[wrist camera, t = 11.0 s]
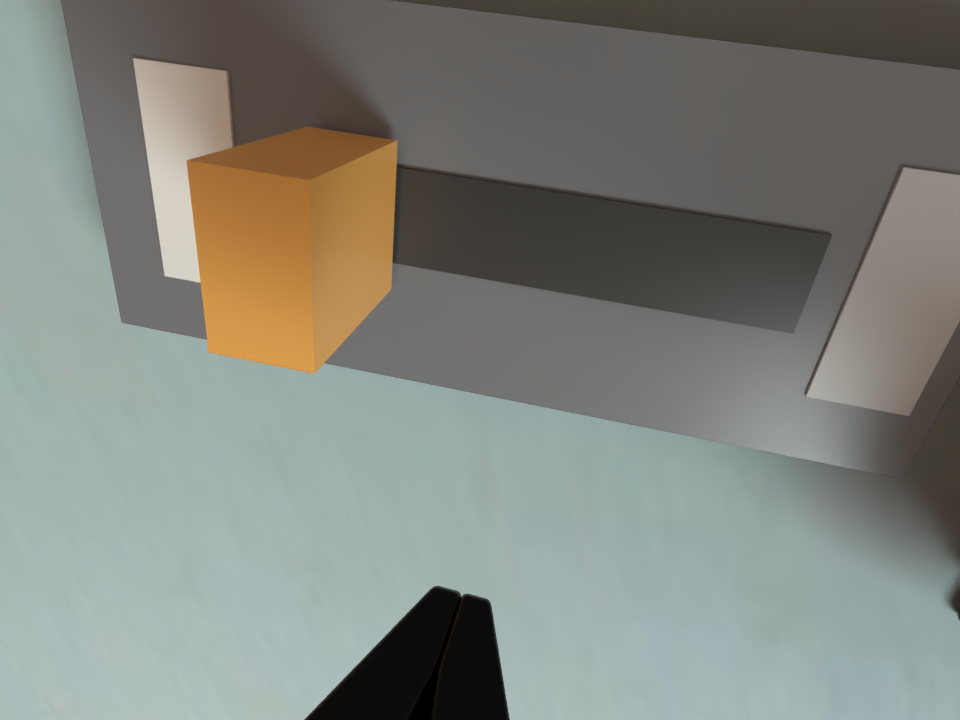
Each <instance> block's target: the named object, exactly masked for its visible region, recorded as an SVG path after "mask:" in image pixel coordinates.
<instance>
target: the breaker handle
mask: <svg viewBox="0 0 960 720" xmlns="http://www.w3.org/2000/svg"><path fill="white" fill-rule="evenodd" d="M397 144H398V140H393V139H386V138H379V137H373V136H366V135H359V134H353V133H346V132H340V131H333V130H326V129H320V128H313V127H304V128H300V129H296V130H293V131H289V132H286V133H282V134H279V135H275V136H271V137H268V138H264V139H261V140H257V141H253V142H250V143H246V144H243V145H239V146H236V147H232V148H228V149H225V150H221V151H218V152H214V153H211V154H207V155H203V156H200V157H196V158H193V159H189V160H186V162H187V170H188V179H189V187H190V196H191V205H192V213H193V222H194V230H195V239H196V248H197V256H198V265H199V273H200V282H201V291H202V299H203V308H204V316H205V325H206V334H207V342H208V351H209V352H210V353H215V354H220V355H225V356H229V357H234V358H239V359H244V360H249V361H254V362H259V363H264V364H269V365H274V366H279V367H284V368H289V369H294V370H299V371H303V372H308V373H313V374H315V372H316V371H317V370H318V369H319V368H320V367H321V366H322V365H323V364H324V363H325V361H326V360H327V359H328V358H329V357H330V356H331V355H332V354H333V353H334V352H335V351H336V349H337V348H338V347H339V346H340V345H341V344H342V343H343V342H344V341H345V340H346V338H347V337H348V336H349V335H350V334H351V333H352V332H353V331H354V330H355V329H356V327H357V326H358V325H359V324H360V323H361V322H362V321H363V320H364V319H365V318H366V317H367V315H368V314H369V313H370V312H371V311H372V310H373V309H374V308H375V307H376V306H377V304H378V303H379V302H380V301H381V300H382V299H383V298H384V297H385V296H386V295H387V293H388V292H389V291H390V290H391V284H392V261H393V237H394V214H395V191H396V167H397Z"/></svg>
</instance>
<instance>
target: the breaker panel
mask: <svg viewBox="0 0 960 720" xmlns="http://www.w3.org/2000/svg"><path fill="white" fill-rule="evenodd" d="M61 3H62V8H63V13H64V19H65V24H66V29H67V35H68V40H69V45H70V51H71V56H72V61H73V67H74V72H75V77H76V82H77V88H78V93H79V98H80V104H81V109H82V114H83V120H84V125H85V130H86V136H87V141H88V146H89V152H90V157H91V162H92V167H93V173H94V178H95V183H96V189H97V194H98V199H99V205H100V210H101V215H102V221H103V226H104V231H105V237H106V242H107V247H108V253H109V258H110V263H111V268H112V274H113V279H114V284H115V290H116V295H117V300H118V306H119V311H120V316H121V322H122V323H126V324H131V325H136V326H141V327H146V328H151V329H156V330H161V331H166V332H171V333H176V334H181V335H186V336H191V337H196V338H201V339H206V340H207V334H206V325H205V316H204V308H203V299H202V291H201V282H200V273H199V265H198V256H197V248H196V239H195V230H194V222H193V213H192V205H191V196H190V187H189V179H188V170H187V162H186V160H189V159H193V158H196V157H200V156H203V155H207V154H211V153H214V152H218V151H221V150H225V149H228V148H232V147H236V146H239V145H243V144H246V143H250V142H253V141H257V140H261V139H264V138H268V137H271V136H275V135H279V134H282V133H286V132H289V131H293V130H296V129H300V128H304V127H313V128H320V129H326V130H333V131H340V132H346V133H353V134H359V135H366V136H373V137H379V138H386V139H393V140H398V144H397V167H396V191H395V214H394V237H393V261H392V284H391V290H390V291H389V292H388V293H387V295H386V296H385V297H384V298H383V299H382V300H381V301H380V302H379V303H378V304H377V306H376V307H375V308H374V309H373V310H372V311H371V312H370V313H369V314H368V315H367V317H366V318H365V319H364V320H363V321H362V322H361V323H360V324H359V325H358V326H357V327H356V329H355V330H354V331H353V332H352V333H351V334H350V335H349V336H348V337H347V338H346V340H345V341H344V342H343V343H342V344H341V345H340V346H339V347H338V348H337V349H336V351H335V352H334V353H333V354H332V355H331V356H330V357H329V358H328V359H327V360H326V361H325V363H326V364H331V365H336V366H341V367H346V368H351V369H356V370H361V371H366V372H371V373H376V374H381V375H386V376H391V377H396V378H401V379H406V380H411V381H416V382H421V383H426V384H431V385H436V386H441V387H446V388H451V389H456V390H461V391H466V392H471V393H476V394H481V395H486V396H491V397H496V398H501V399H506V400H511V401H516V402H521V403H526V404H531V405H536V406H541V407H546V408H551V409H556V410H561V411H566V412H571V413H576V414H581V415H586V416H591V417H596V418H601V419H606V420H611V421H616V422H621V423H626V424H631V425H636V426H641V427H646V428H651V429H656V430H661V431H666V432H671V433H676V434H681V435H686V436H691V437H696V438H701V439H706V440H711V441H716V442H721V443H726V444H731V445H736V446H741V447H746V448H751V449H756V450H761V451H766V452H771V453H776V454H781V455H786V456H791V457H796V458H801V459H806V460H811V461H816V462H821V463H826V464H831V465H836V466H841V467H846V468H851V469H856V470H861V471H866V472H871V473H876V474H881V475H886V476H891V477H896V478H901V479H903V477H904V475H905V474H906V472H907V470H908V468H909V466H910V465H911V463H912V461H913V459H914V457H915V456H916V454H917V452H918V450H919V448H920V447H921V445H922V443H923V441H924V440H925V438H926V436H927V434H928V432H929V431H930V429H931V427H932V425H933V423H934V422H935V420H936V418H937V416H938V415H939V413H940V411H941V409H942V407H943V406H944V404H945V402H946V400H947V398H948V397H949V395H950V393H951V391H952V390H953V388H954V386H955V384H956V382H957V381H958V379H959V377H960V70H958V69H950V68H942V67H933V66H925V65H917V64H909V63H901V62H892V61H884V60H876V59H868V58H860V57H852V56H843V55H835V54H827V53H819V52H811V51H802V50H794V49H786V48H778V47H770V46H762V45H753V44H745V43H737V42H729V41H721V40H712V39H704V38H696V37H688V36H680V35H672V34H663V33H655V32H647V31H639V30H631V29H622V28H614V27H606V26H598V25H590V24H582V23H573V22H565V21H557V20H549V19H541V18H532V17H524V16H516V15H508V14H500V13H491V12H483V11H475V10H467V9H459V8H451V7H442V6H434V5H426V4H418V3H410V2H401V1H393V0H61Z"/></svg>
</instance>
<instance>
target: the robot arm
mask: <svg viewBox="0 0 960 720" xmlns="http://www.w3.org/2000/svg"><path fill="white" fill-rule="evenodd" d="M958 618H959V620H960V610H959V612H958ZM304 720H510V719H509V713H508V707H507V701H506V694H505V688H504V682H503V676H502V669H501V663H500V657H499V651H498V644H497V638H496V632H495V626H494V619H493V613H492V607H491V603H490V601H489V600H488V599H486V598H482V597H478V596H474V595H471V594H464V595H463V596H462V597H461V594H460V593H459V592H458V591H456V590H452V589H448V588H444V587H440V586H435V587H433V588H432V589H430V590H429V591H428V592H427V593H426V594H425V595H424V596H423V597H422V599H421V600H420V601H419V602H418V603H417V604H416V605H415V606H414V607H413V608H412V609H411V610H410V611H409V612H408V613H407V614H406V615H405V616H404V617H403V618H402V619H401V620H400V621H399V622H398V623H397V624H396V625H395V626H394V627H393V629H392V630H391V631H390V632H389V633H388V634H387V635H386V636H385V637H384V638H383V639H382V640H381V641H380V642H379V643H378V644H377V645H376V646H375V647H374V648H373V649H372V650H371V651H370V652H369V653H368V654H367V655H366V656H365V657H364V658H363V660H362V661H361V662H360V663H359V664H358V665H357V666H356V667H355V668H354V669H353V670H352V671H351V672H350V673H349V674H348V675H347V676H346V677H345V678H344V679H343V680H342V681H341V682H340V683H339V684H338V685H337V686H336V687H335V688H334V689H333V691H332V692H331V693H330V694H329V695H328V696H327V697H326V698H325V699H324V700H323V701H322V702H321V703H320V704H319V705H318V706H317V707H316V708H315V709H314V710H313V711H312V712H311V713H310V714H309V715H308V716H307V717H306V718H305V719H304Z"/></svg>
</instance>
